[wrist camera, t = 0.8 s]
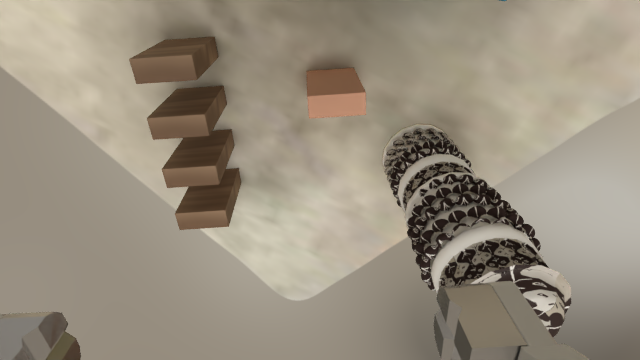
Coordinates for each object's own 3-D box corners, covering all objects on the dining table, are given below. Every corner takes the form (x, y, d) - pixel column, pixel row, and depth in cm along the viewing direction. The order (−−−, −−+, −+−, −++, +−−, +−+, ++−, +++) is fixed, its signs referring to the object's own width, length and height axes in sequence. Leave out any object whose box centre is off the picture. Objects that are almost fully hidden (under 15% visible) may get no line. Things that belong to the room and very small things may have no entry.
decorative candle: (416, 104, 43) (534, 250, 21) (471, 149, 46) (624, 317, 24) (363, 163, 46) (417, 341, 24) (417, 201, 49) (509, 389, 27)
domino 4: (196, 171, 46) (174, 213, 38) (238, 168, 46) (225, 210, 38) (200, 185, 47) (179, 229, 39) (241, 182, 47) (228, 226, 39)
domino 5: (306, 70, 40) (307, 96, 32) (353, 67, 40) (365, 92, 32) (308, 89, 41) (309, 118, 33) (353, 86, 41) (365, 114, 33)
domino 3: (187, 132, 43) (161, 169, 35) (231, 129, 43) (215, 165, 35) (191, 148, 44) (167, 187, 36) (234, 145, 44) (219, 184, 36)
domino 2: (176, 88, 41) (146, 118, 33) (223, 85, 41) (204, 114, 33) (181, 106, 42) (153, 139, 34) (226, 103, 42) (209, 135, 34)
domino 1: (164, 39, 38) (129, 59, 30) (214, 36, 38) (191, 54, 30) (169, 60, 39) (136, 83, 31) (218, 57, 39) (197, 79, 31)
